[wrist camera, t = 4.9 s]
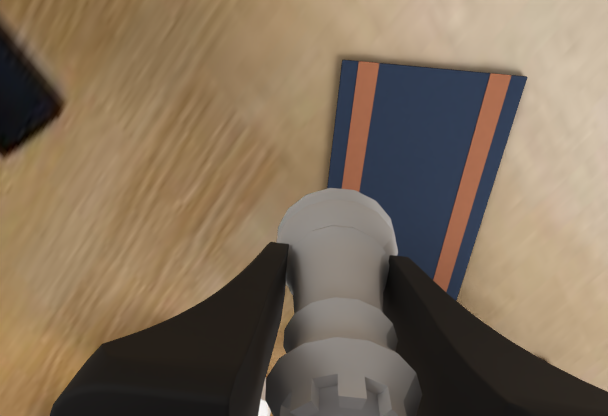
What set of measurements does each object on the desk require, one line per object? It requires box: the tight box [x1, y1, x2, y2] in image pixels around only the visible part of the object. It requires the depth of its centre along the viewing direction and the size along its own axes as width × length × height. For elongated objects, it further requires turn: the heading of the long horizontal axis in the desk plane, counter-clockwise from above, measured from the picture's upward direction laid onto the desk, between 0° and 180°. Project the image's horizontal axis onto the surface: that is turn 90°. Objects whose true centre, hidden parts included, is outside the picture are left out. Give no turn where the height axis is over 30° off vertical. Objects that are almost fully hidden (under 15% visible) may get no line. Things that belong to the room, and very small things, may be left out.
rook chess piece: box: [265, 188, 422, 416], centre depth 10 cm, size 4×4×8 cm
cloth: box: [327, 60, 527, 301], centre depth 21 cm, size 15×9×1 cm, turn 175°
